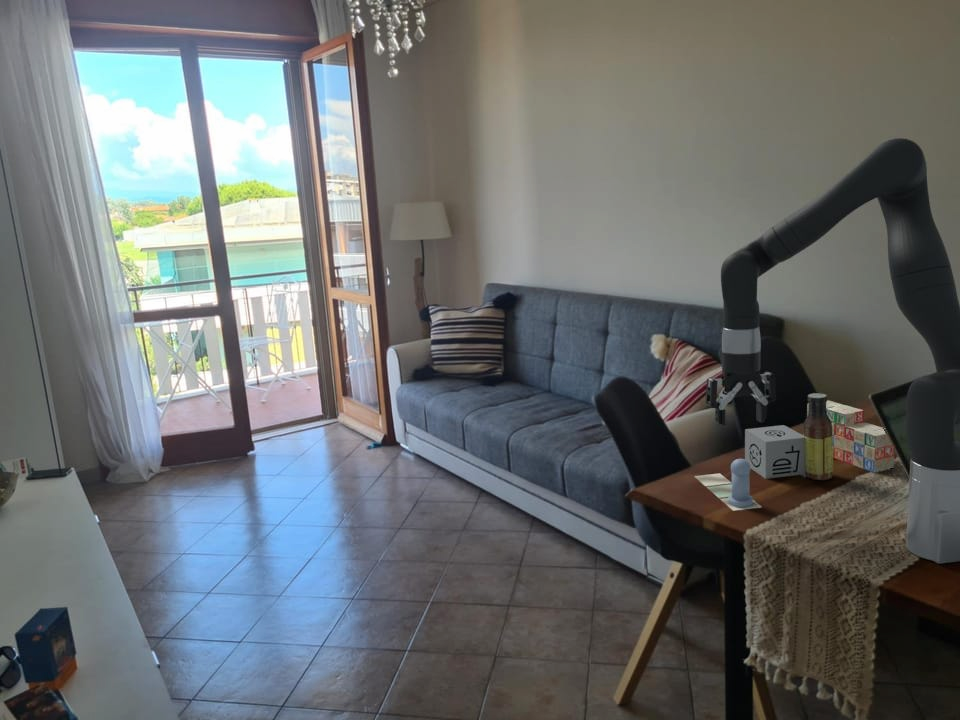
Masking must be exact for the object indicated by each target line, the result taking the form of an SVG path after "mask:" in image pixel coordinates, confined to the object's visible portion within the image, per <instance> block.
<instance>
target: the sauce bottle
mask: <svg viewBox="0 0 960 720" xmlns="http://www.w3.org/2000/svg"><path fill="white" fill-rule="evenodd" d="M827 400H828V395H827V394H825V393H815V392H813V393H809V394H808V395H807V402H808V403H809V411H808V416H807V415H806V419H805V420H804V423H803V429H802V431H803V432H802V433H803V434H802V435H803V436H804V437H805V471H806V478H809V479H811V480H814V481H829V480H830V479H832V478H833V477H834V475H833V471H834V458H833V434H832V422H831V420H830V419H829V417H828V415H827V411H826V402H827Z"/></svg>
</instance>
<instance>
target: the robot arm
mask: <svg viewBox="0 0 960 720" xmlns="http://www.w3.org/2000/svg"><path fill="white" fill-rule="evenodd" d="M927 169H928V167H927V162H926V158H925V153H924V151H923V150H922V148H921V146H919V144H918V143H916V142H915V141H913V140H911V139H908V138H903V137H902V138H901V137H900V138H893V139H888V140H886V141H883V142H882V143H880V144H879V145H877V146H876V147H875V148H874V149H873V150H872V151H870V152H869V153H868V154H867V155H866V156H864V158H862V160H861V161H859V162H858V163H857V164H856V165H855V166H853V168H852V169H850V171H848V172H847V173H846V174H845V175H844V176H842V177H841V178H839V180H837V181H836V182H835V183H834V184H833V185H831V186H829V188H827V189H826V190H825V191H823V192H822V193H821V194H819V195H818V196H816V197H815V198H814V199H812V200H811V201H809V202H808V203H806V204H805V205H803V206H802V207H800V208H799V209H796V210H795V211H794V212H793V213H791V214H790V215H788V216H787V217H785V218H783V219H782V220H781V221H779V222H778V223H776V224H774V225H773V226H772V227H770V228H769V229H768V230H766V231H765V232H764V233H762V235H761V236H759V237H757V238H756V239H754V240H753V241H751V242H749V243H747V244H746V245H744V246H743V247H741V248H739V249H738V250H736V251H734V252H733V253H731V254H730V255H728V256H727V257H726V258H725V259H724V261H723V262H722V264H721V266H720V267H721V268H720V286H721V293H722V294H721V295H722V302H723V308H722V332H721V333H722V335H721V372H722V374H721V377H720V378H712V377H708V378H707V379H706V391H705V393H706V394H705V395H706V396H705V404H706V405H707V406H709V407H710V408H712V409H715V412H714V414H715V416H714V417H715V423H716V424H718V425H719V426H720V427H726V409H725V408H726V407H727V405H728V404H729V403H730V402H732V400H733V399H734V398H737V399H738V398H741V397H750V396H753V398H754V399H755V400H756V403H755V404H756V405H755V406H756V407H755V409H756V410H755V411H756V412H755V414H756V415H755V417H756V421H757V422H759V423H764V422H765V420H766V419H767V418H768V417H767V412H768V411H767V409H768V408H767V407H768V404H770V403H771V402H773V403H774V402H775V401H776V400H777V387H776V375H775V374H774V373H772V372H769V371H765V372H764V373H762V374H761V346H762V343H761V331H760V304H759V301H758V278H760V277H761V276H762V275H764V274H766V273H767V272H768V271H770V270H771V269H773V268H774V267H776V266H777V265H778V264H780V263H784V262H785V261H788V260H790V259H791V258H793V257H794V256H796V255H797V254H799V253H801V252H802V251H804V250H806V249H807V248H809V247H811V246H812V245H813V244H814V243H816V242H817V241H819V240H820V239H822V237H824V236H825V235H826V234H827V233H828V232H830V231H831V230H832V229H834V227H836V226H837V225H838V224H839V223H840V222H841V221H843V220H844V219H845V218H846V217H847V216H849V215H850V214H851V213H853V212H854V211H855V210H857V209H859V208H860V207H862V206H863V205H865V204H867V203H869V202H870V201H872V200H875V199H877V201H878V204H879V206H880V209H881V212H882V215H883V218H884V222H885V226H886V233H887V255H888V256H887V258H888V260H887V261H888V266H889V267H888V268H889V273H890V274H889V275H890V279H891V284H892V289H893V293H894V298H895V301H896V304H897V307H898V308H899V310H900V312H901V313H902V314H903V315H904V317H905V318H906V320H907V321H908V322H909V323H910V324H911V325H912V326H913V327H914V329H915V330H916V331H917V332H918V333H919V334H920V336H921V337H922V338H923V340H924V341H925V342H926V344H927V345H928V348H929V350H930V352H931V355H932V358H933V360H934V365H935V369H936V371H935V372H936V373H933V374H928V375H924V376H920V377H918V378H915V379H914V380H913V382H911V384H910V385H909V388H908V391H907V395H906V402H905V406H906V407H905V408H906V409H905V411H906V413H905V415H906V416H905V417H906V420H905V421H906V423H905V424H906V441H907V444H908V447H909V450H910V462H909V463H910V465H909V477H908V478H909V483H908V496H907V499H908V501H907V517H906V518H907V522H906V544H905V547H906V548H907V550H908V551H909V552H910V553H912V554H913V555H914V556H917V557H920V558H922V559H926V560H928V561H932V562H935V564H939V565H940V564H946V563H955V562H960V442H959V441H956V440H955V438H956V436H955V426H956V425H960V303H959V302H960V301H959V298H958V292H957V286H956V284H955V283H956V282H955V278H954V275H953V270H952V267H951V262H950V258H949V255H948V252H947V250H946V246H945V243H944V241H943V239H942V236H941V234H940V231H939V230H938V228H937V226H936V223H935V220H934V218H933V214H932V210H931V203H930V197H929V188H928V175H927V174H928V173H927V172H928V170H927ZM761 382H762V383H763V384H764V393H762V391H761V390H760V389H759V388H758V387H759V385H760V384H761ZM720 385H722V387H723V388H722V390H721V391H720V392H719V393H718V390H719V389H720ZM717 396H718V397H717Z"/></svg>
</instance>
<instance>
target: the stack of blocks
mask: <svg viewBox="0 0 960 720" xmlns="http://www.w3.org/2000/svg"><path fill="white" fill-rule="evenodd" d="M806 405H807V406H806V408H807V409H806V411H807V412H806V417H807V416H808V411H809V402H808V403H807V404H806ZM826 411H827V415H828V417H829V419H830V420H831V422H832V434H833V459H835V460H839V461H842V462H844V463H848V464H849V465H853V466H854V467H857V468H860V469H863V470H865V471H868V472H871V473H872V474H874V473H879V471H880V472H883V471H888V470H891V469H890V468H893V469H894V466H895V465H894V461H895V448H894V449H893V447H892V444H891V442H890V440H889V438H888V436H887V434H886V433H885V431H884V429H885V428H884V427H882V426H877V425H875V424H872V423H868V422H865V410H864V409H861V408H857V407H853V406H849V405H845V404H842V403H838V402H835V401H833V400H829V399H827V402H826ZM883 428H884V429H883ZM887 469H888V470H887Z"/></svg>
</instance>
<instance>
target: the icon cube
mask: <svg viewBox="0 0 960 720" xmlns="http://www.w3.org/2000/svg"><path fill="white" fill-rule="evenodd" d="M744 460H746V461H747V462H748V463H749V464H750V467H751V471H752V470H753V471H754V472H755V473H757V474H758V475H760V476H761V477H762V478H763V479H765V480H767V479H775V478H782V477H792V476H799V475H800V476H802V477H803V478H804V479H805V478H807V476H806V471H805V437H804V436H803V434H802V433H800V432H797V431H796V430H794V429H792V428H790V427H789V426H786V425H784V424H783V425H780V424H779V425H773V426H763V427H762V426H761V427H754V428H746V429H744Z"/></svg>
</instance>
